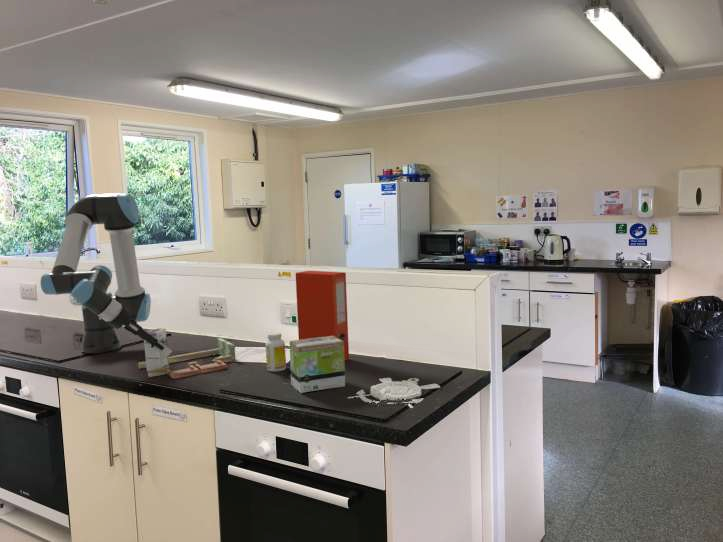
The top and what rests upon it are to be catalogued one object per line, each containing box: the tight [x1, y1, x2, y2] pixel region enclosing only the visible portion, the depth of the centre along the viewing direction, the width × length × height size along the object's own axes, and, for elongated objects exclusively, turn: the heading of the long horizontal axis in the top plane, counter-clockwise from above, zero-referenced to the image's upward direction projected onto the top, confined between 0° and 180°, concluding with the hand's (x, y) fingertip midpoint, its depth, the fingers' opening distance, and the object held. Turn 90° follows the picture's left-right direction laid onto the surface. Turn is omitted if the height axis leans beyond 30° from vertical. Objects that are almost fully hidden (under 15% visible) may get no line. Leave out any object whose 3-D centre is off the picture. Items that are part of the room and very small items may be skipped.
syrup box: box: [143, 328, 170, 372], centre depth 215 cm, size 6×6×14 cm
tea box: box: [289, 336, 346, 394], centre depth 189 cm, size 15×10×15 cm
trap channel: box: [137, 337, 236, 380], centre depth 218 cm, size 23×32×6 cm
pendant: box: [347, 377, 441, 409], centre depth 181 cm, size 21×28×1 cm
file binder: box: [295, 270, 350, 361], centre depth 220 cm, size 8×17×32 cm, turn 53°
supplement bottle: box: [265, 331, 287, 373], centre depth 209 cm, size 7×7×13 cm
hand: (166, 351), depth 217 cm, fingers closed on syrup box, 8 cm apart
